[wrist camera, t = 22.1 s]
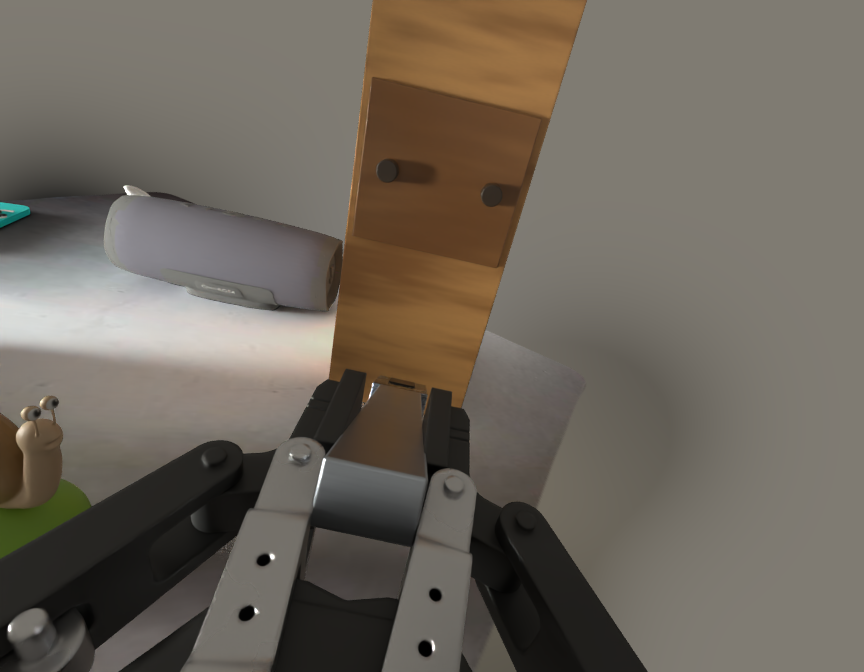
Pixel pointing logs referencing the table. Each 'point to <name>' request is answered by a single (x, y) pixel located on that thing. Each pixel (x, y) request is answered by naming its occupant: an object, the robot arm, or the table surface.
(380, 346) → the zigzag wood box
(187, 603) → the table surface
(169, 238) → the bluetooth speaker
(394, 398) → the bottle opener
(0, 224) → the handheld gaming console
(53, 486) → the snail figurine
